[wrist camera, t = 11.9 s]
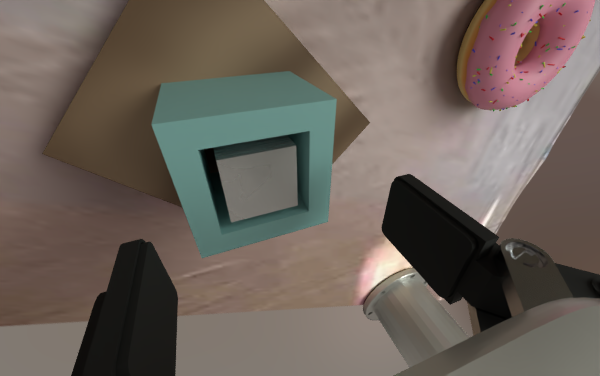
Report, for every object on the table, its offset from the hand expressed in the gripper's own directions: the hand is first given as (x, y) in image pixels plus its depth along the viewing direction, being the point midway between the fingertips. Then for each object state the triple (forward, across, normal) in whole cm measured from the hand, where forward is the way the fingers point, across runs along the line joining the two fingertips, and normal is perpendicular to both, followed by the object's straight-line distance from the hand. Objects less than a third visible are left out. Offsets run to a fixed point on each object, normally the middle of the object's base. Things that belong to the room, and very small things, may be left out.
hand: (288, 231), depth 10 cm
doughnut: (+11, -23, -5) cm, 26 cm away
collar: (+9, 0, -1) cm, 9 cm away
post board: (+11, 0, -1) cm, 11 cm away
